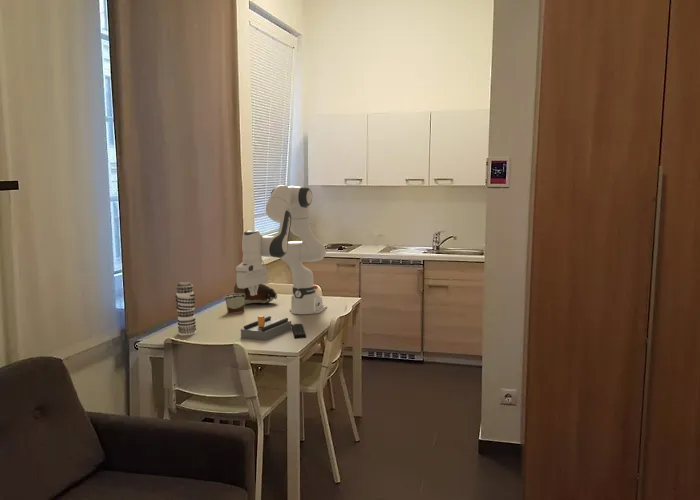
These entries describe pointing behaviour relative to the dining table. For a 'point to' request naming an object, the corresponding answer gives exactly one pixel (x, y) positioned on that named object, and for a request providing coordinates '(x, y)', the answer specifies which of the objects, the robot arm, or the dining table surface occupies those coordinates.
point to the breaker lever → (261, 321)
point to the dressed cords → (268, 325)
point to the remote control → (298, 331)
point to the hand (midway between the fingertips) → (253, 295)
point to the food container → (235, 302)
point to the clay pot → (262, 295)
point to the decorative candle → (185, 308)
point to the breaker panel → (258, 334)
